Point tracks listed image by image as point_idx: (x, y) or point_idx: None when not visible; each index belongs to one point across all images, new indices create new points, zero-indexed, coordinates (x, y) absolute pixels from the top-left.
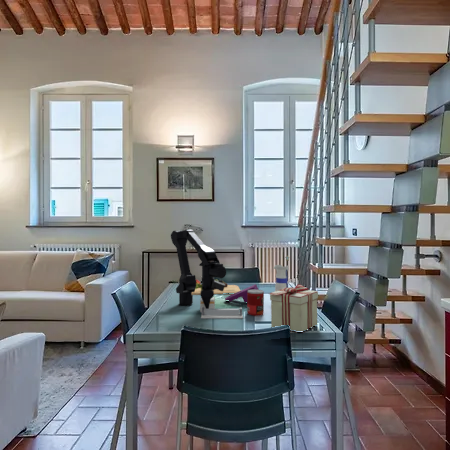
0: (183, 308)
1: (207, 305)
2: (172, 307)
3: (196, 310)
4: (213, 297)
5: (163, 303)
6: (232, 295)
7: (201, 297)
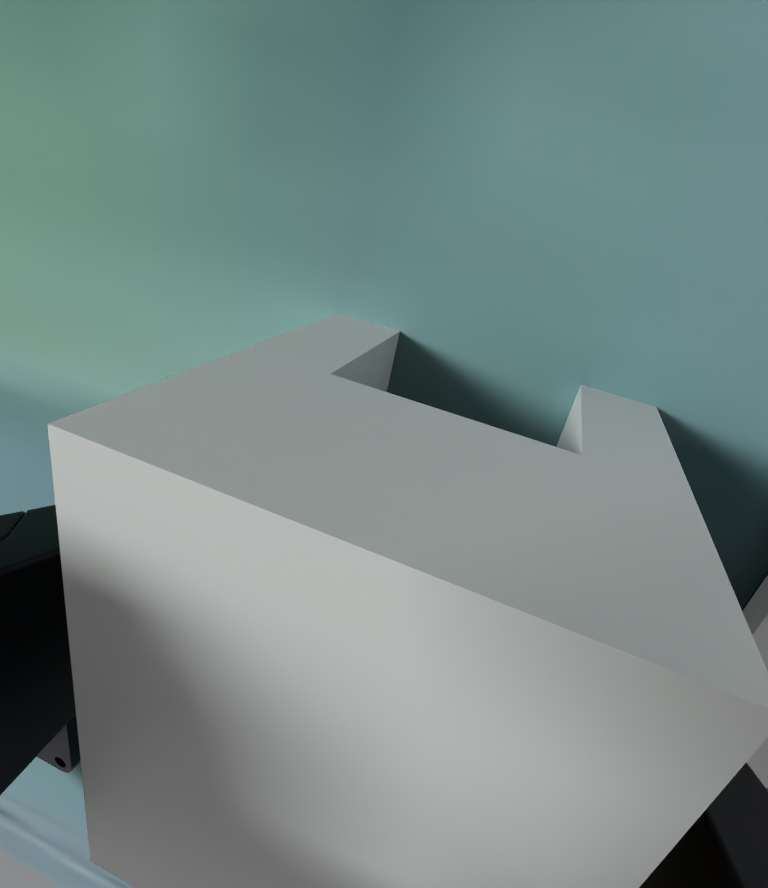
0: None
1: None
2: None
3: None
4: (99, 511)
5: (9, 822)
6: None
7: (124, 869)
